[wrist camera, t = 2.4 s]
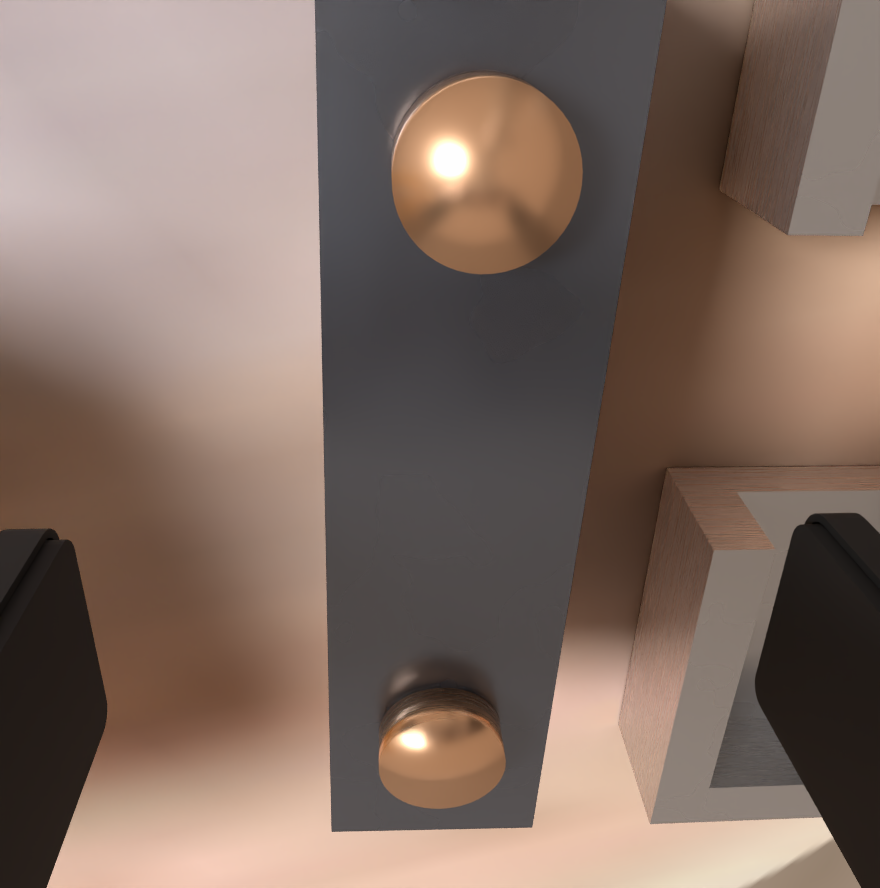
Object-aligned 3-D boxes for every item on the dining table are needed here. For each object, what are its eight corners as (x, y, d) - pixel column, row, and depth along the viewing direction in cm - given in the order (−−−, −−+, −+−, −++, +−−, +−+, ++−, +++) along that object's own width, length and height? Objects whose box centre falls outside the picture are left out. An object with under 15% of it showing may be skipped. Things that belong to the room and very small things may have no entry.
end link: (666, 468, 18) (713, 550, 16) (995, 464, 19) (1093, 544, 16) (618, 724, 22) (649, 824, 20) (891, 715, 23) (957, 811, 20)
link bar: (340, -81, 13) (307, -117, 7) (565, -67, 13) (704, -90, 8) (344, 607, 20) (329, 868, 14) (493, 607, 20) (538, 863, 15)
